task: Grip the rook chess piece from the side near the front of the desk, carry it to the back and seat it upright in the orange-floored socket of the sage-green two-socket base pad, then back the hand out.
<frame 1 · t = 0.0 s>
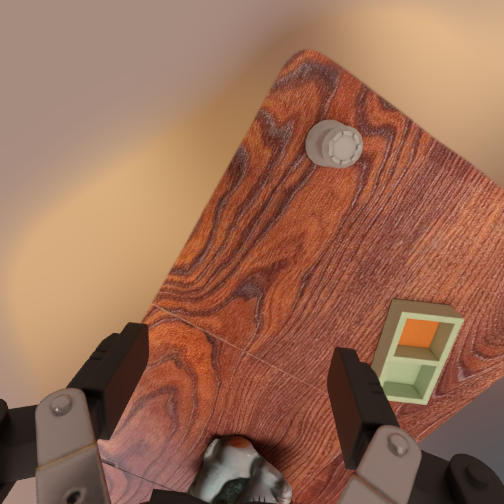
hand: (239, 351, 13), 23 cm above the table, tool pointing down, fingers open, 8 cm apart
rook chess piece: (326, 143, 31), on the table
lucky cat figurine: (242, 459, 50), on the table
socket pad: (405, 345, 40), on the table
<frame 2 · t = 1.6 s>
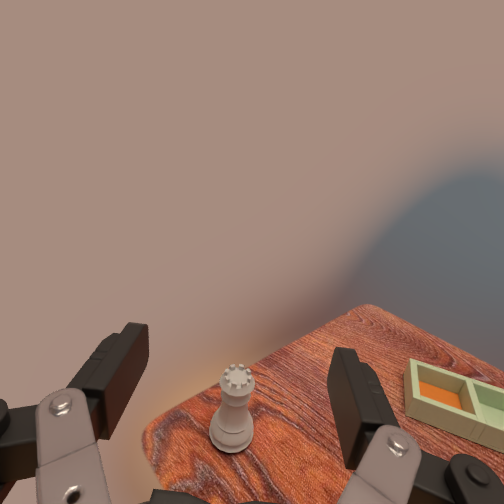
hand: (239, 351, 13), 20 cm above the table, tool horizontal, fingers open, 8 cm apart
rook chess piece: (230, 435, 31), on the table
socket pad: (464, 415, 36), on the table
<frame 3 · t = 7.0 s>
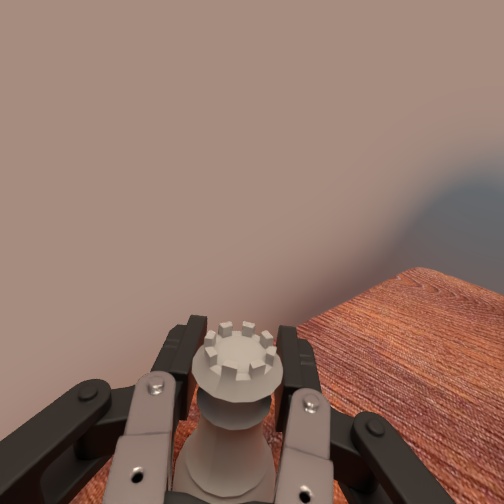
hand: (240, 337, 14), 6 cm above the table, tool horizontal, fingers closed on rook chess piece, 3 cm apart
rook chess piece: (223, 490, 14), on the table, touching gripper
when the fingers open (7 cm above the table, at t = 15.6 s): rook chess piece stays where it is, resting on socket pad.
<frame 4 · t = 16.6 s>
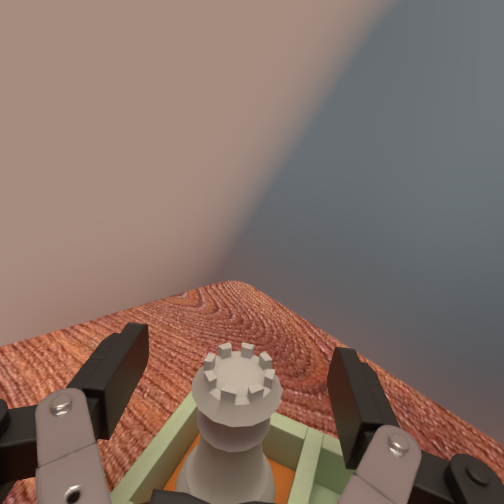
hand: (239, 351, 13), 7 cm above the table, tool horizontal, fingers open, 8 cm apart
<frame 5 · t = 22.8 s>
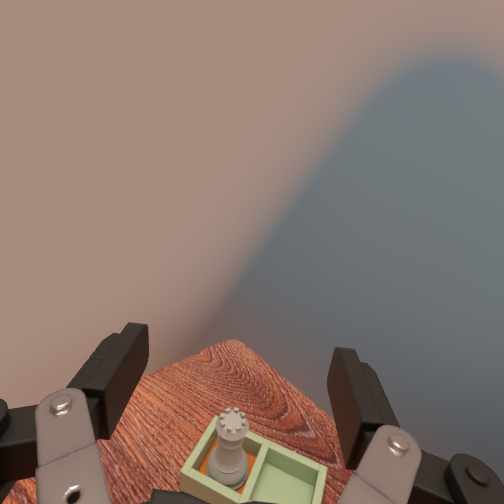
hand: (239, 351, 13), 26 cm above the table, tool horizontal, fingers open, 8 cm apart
rook chess piece: (226, 472, 33), resting on socket pad
socket pad: (253, 487, 32), on the table
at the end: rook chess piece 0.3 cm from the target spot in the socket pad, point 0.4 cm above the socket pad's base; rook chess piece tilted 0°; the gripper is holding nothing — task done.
